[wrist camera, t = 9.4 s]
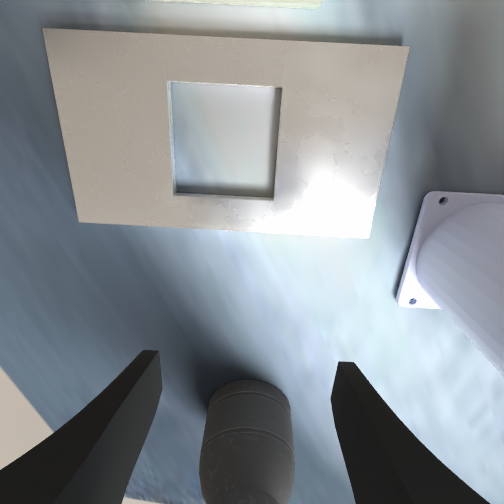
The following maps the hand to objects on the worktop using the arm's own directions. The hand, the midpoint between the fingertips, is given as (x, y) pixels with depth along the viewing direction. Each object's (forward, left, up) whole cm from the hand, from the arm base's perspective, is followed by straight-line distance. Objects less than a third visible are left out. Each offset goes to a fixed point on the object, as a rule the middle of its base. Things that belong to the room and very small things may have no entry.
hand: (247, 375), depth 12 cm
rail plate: (+2, -8, -9) cm, 13 cm away
